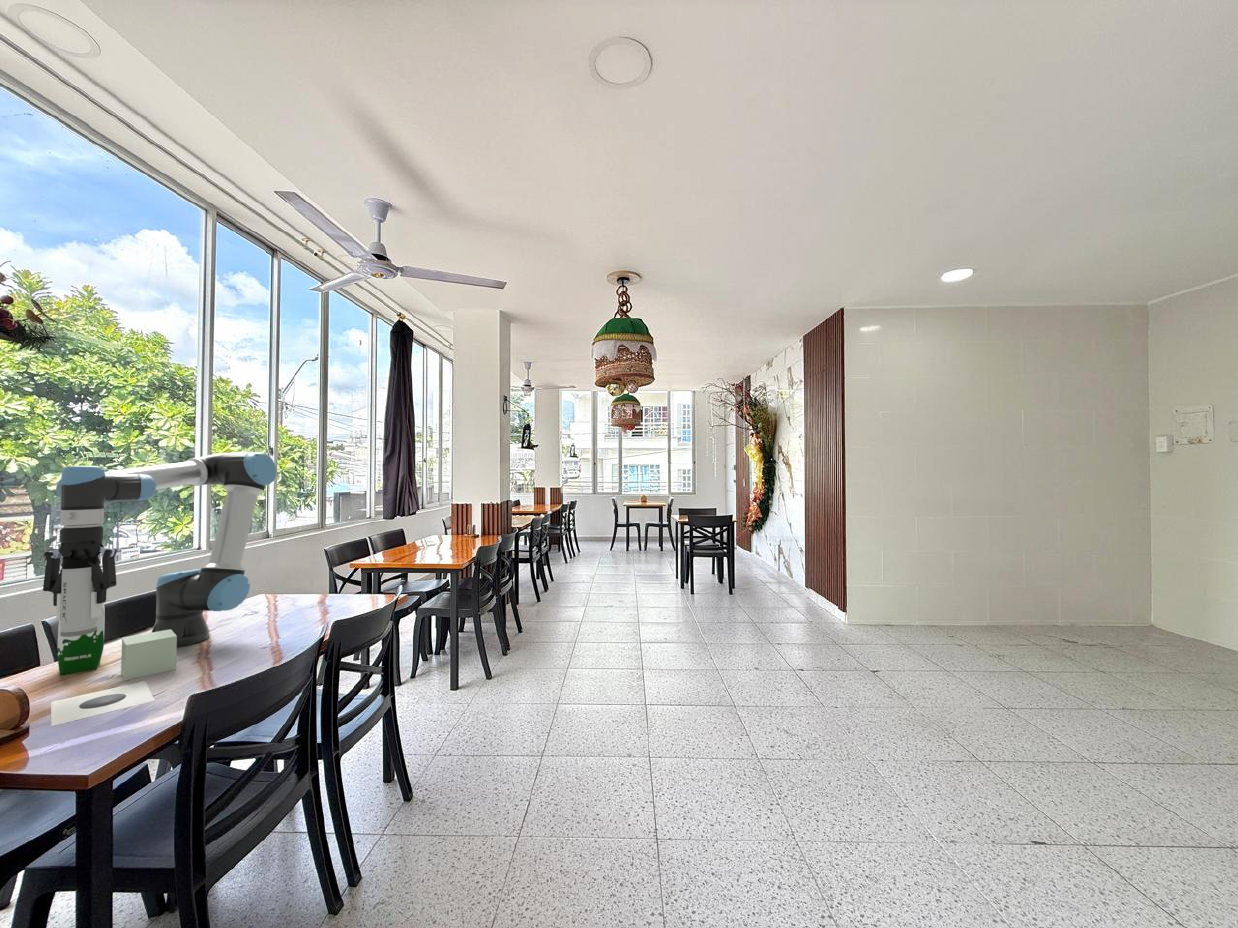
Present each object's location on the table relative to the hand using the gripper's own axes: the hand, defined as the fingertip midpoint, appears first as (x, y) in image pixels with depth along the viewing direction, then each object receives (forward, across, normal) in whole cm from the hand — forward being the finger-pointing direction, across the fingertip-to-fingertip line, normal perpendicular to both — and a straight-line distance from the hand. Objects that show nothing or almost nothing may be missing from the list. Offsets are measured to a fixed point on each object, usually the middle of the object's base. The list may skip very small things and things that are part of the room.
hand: (79, 617), depth 125 cm
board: (+18, +13, -12) cm, 25 cm away
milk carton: (+19, -11, +18) cm, 28 cm away
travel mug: (+4, 0, 0) cm, 4 cm away
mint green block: (+18, +10, +9) cm, 23 cm away
